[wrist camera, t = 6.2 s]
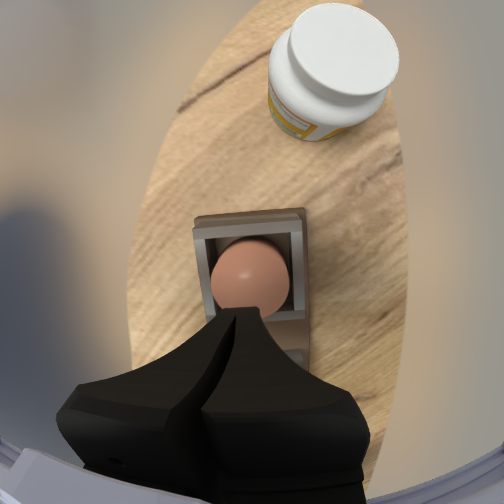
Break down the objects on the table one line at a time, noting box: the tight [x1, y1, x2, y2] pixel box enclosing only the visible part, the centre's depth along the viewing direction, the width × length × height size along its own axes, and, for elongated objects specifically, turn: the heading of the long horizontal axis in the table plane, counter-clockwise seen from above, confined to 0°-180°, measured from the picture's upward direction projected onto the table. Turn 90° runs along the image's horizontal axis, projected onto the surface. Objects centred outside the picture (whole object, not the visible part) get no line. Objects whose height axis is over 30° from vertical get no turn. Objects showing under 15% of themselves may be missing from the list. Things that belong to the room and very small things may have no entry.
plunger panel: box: [192, 208, 309, 372], centre depth 19 cm, size 16×7×4 cm, turn 5°
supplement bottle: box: [268, 3, 399, 141], centre depth 12 cm, size 5×5×10 cm
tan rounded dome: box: [211, 236, 289, 318], centre depth 16 cm, size 4×4×2 cm
